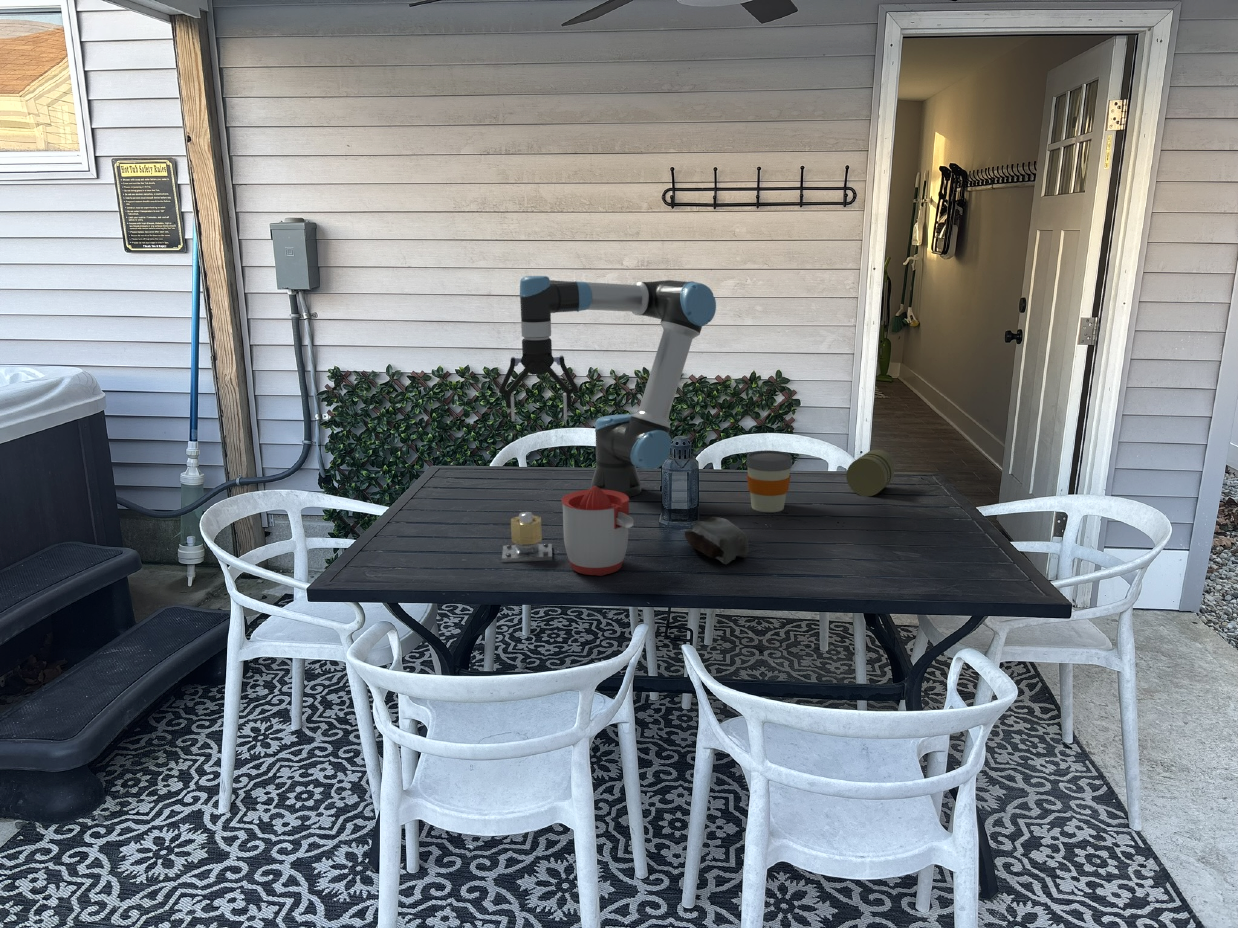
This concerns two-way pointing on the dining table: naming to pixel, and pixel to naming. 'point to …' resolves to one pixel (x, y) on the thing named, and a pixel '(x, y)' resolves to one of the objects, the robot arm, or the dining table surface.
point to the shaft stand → (527, 547)
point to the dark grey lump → (718, 539)
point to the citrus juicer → (596, 530)
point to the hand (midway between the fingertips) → (539, 419)
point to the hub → (526, 531)
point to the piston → (871, 472)
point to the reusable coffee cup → (768, 479)
